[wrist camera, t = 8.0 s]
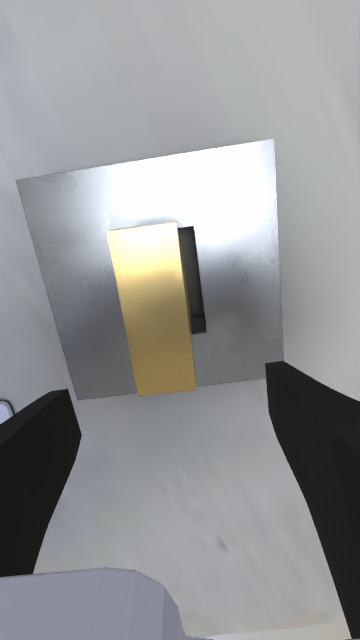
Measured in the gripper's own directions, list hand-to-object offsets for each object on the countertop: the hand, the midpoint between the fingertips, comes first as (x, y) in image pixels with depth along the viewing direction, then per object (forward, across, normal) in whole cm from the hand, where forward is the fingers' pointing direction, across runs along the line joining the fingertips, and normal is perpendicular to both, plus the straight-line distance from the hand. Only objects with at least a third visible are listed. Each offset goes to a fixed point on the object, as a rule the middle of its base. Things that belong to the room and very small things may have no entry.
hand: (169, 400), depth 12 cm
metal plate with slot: (+9, 0, -3) cm, 10 cm away
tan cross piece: (+9, 0, -3) cm, 10 cm away
